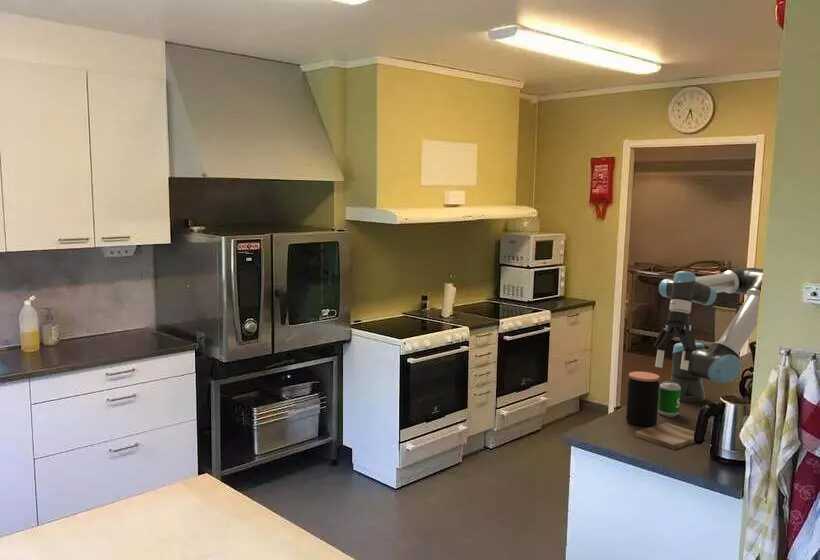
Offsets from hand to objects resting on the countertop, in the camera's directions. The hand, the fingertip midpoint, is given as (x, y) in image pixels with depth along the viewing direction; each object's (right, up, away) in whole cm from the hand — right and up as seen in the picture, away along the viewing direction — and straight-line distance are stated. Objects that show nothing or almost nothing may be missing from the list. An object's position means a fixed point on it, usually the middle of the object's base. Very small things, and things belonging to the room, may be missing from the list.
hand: (670, 368), depth 249 cm
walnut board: (-7, -21, -18) cm, 29 cm away
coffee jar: (-12, -20, -3) cm, 23 cm away
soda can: (+2, -19, +8) cm, 20 cm away
